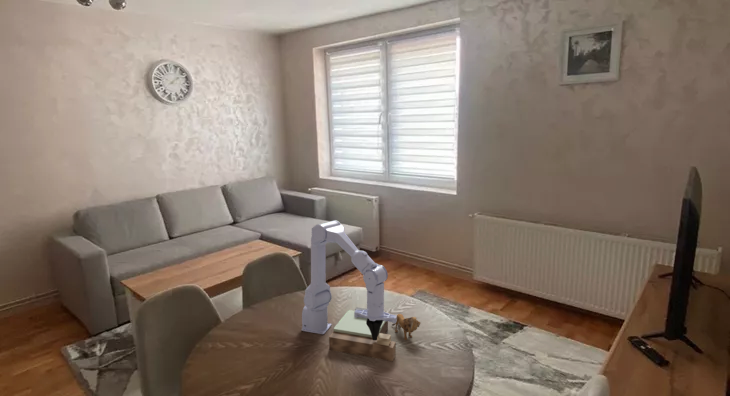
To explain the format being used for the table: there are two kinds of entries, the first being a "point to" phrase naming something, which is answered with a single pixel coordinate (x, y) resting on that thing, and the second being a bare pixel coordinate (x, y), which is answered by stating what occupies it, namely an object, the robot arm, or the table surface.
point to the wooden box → (362, 345)
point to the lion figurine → (406, 325)
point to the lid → (354, 324)
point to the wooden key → (384, 339)
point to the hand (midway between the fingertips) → (375, 338)
